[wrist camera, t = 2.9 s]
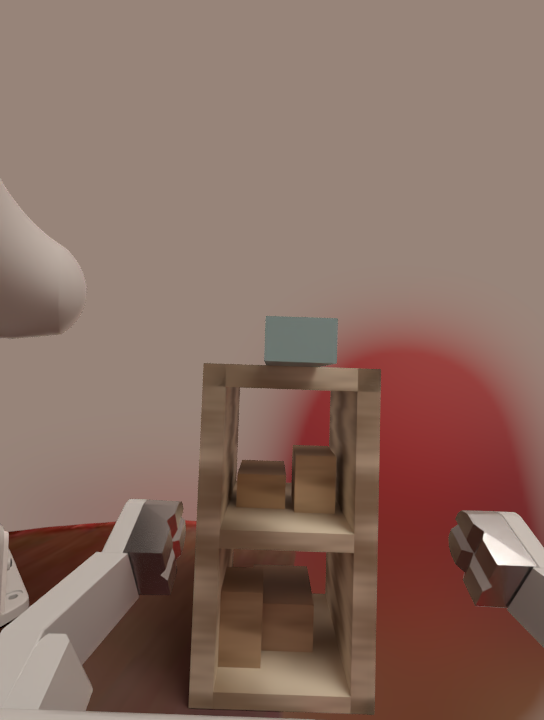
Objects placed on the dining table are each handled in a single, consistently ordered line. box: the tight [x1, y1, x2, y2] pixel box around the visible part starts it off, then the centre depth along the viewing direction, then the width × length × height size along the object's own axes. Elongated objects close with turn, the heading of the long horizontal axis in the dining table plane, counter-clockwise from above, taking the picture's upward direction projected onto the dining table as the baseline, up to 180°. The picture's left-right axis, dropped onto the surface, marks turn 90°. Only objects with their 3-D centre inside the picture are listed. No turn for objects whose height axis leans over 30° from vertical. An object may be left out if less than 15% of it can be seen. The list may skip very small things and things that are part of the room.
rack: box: [188, 363, 381, 715], centre depth 32 cm, size 12×14×26 cm
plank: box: [264, 316, 338, 367], centre depth 28 cm, size 18×4×2 cm, turn 0°
